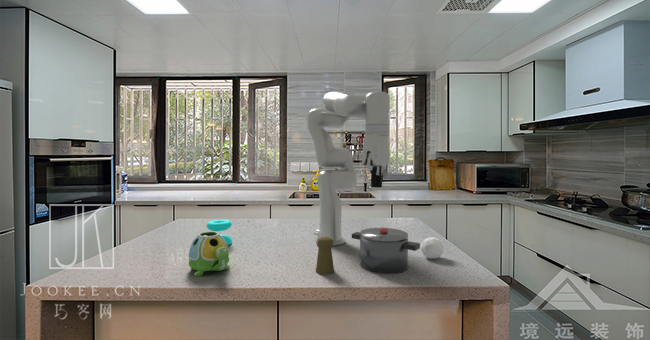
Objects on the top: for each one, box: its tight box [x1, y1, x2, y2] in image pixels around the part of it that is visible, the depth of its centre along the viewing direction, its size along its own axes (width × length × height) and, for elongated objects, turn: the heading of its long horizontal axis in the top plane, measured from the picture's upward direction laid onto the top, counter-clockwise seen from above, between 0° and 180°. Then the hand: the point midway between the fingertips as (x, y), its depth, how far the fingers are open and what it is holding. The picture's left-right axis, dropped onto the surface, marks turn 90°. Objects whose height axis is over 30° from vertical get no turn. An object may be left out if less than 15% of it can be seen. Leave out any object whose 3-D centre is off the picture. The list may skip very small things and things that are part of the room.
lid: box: [359, 227, 409, 242], centre depth 104 cm, size 16×16×3 cm
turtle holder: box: [187, 230, 231, 277], centre depth 98 cm, size 12×18×12 cm
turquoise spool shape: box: [206, 219, 233, 246], centre depth 129 cm, size 10×10×10 cm
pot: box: [351, 231, 421, 275], centre depth 104 cm, size 24×16×10 cm, turn 50°
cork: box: [315, 237, 335, 276], centre depth 98 cm, size 6×6×11 cm
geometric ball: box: [420, 236, 444, 260], centre depth 111 cm, size 8×8×8 cm
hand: (376, 187), depth 100 cm, fingers closed
